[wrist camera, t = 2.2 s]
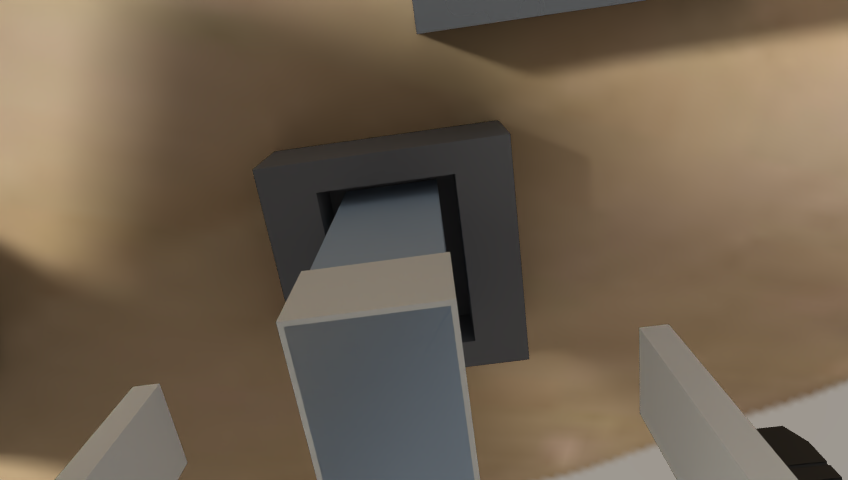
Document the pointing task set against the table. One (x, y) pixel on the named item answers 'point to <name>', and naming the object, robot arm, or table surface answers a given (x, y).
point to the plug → (381, 344)
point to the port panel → (492, 11)
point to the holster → (460, 208)
